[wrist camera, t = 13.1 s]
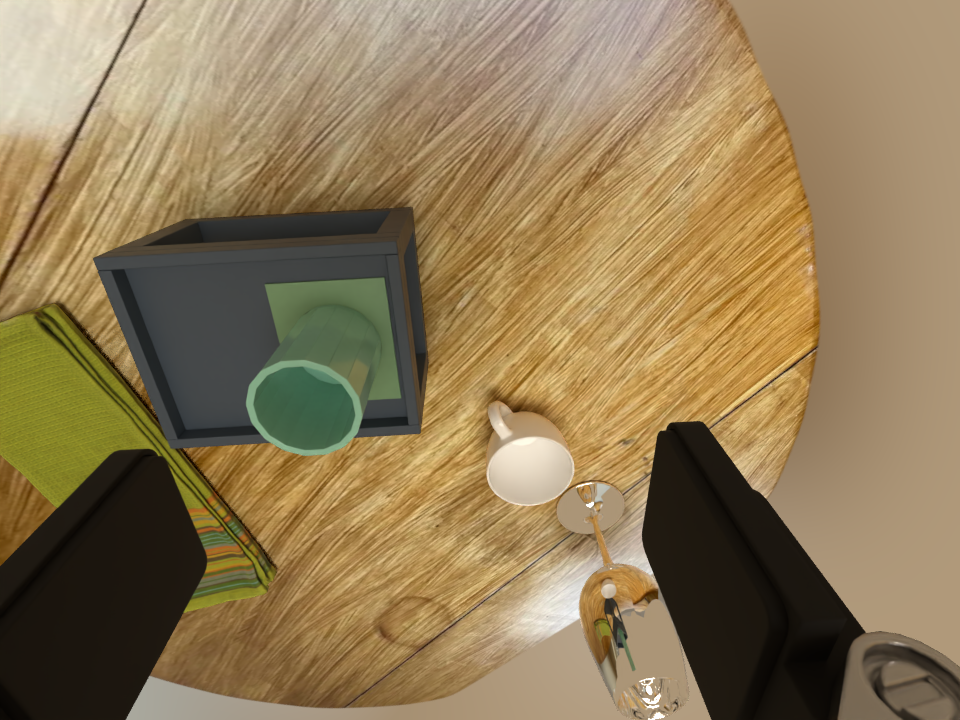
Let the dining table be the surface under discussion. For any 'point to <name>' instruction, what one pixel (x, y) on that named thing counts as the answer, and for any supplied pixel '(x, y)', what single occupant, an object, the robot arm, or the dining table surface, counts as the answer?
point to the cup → (526, 457)
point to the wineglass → (625, 615)
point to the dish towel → (105, 441)
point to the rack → (265, 312)
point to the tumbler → (316, 382)
